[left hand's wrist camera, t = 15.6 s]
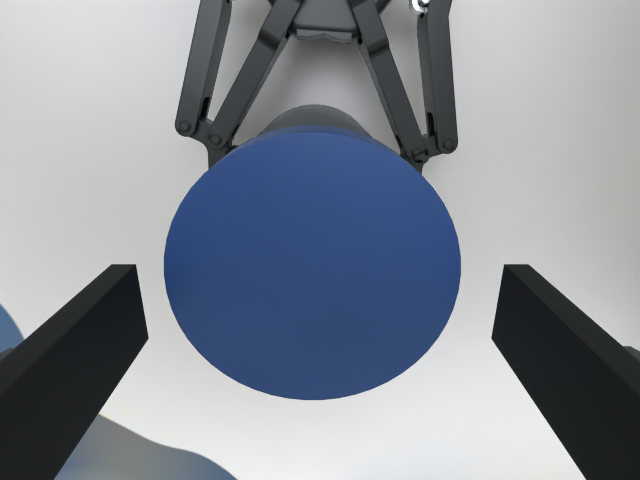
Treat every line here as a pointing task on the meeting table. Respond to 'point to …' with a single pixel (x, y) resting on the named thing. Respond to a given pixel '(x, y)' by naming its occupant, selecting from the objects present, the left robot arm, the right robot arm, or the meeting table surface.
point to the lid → (312, 263)
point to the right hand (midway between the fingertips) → (310, 248)
